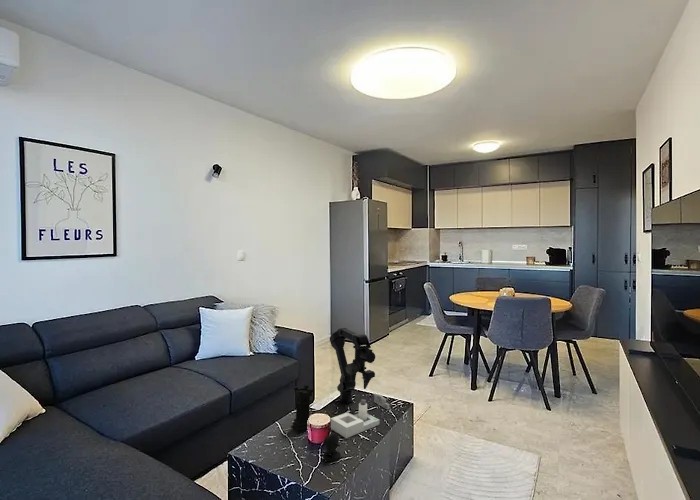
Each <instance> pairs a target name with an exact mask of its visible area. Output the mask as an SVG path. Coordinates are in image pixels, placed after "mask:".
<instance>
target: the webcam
mask: <svg viewBox="0 0 700 500" xmlns="http://www.w3.org/2000/svg"><path fill="white" fill-rule="evenodd" d="M339 440H340V438H339V434H338V433H337V432H332V433H330V434H329V435H326V436H325V438H324V440H323V446H325V451H324V452H323V455H322V456H323V459H324V461H327V462H334V463H335V462H337V461H339V460H340V459H341V457H342V456H341V452H340V451H338V450H337V448H338V447H340V446H341V444H339V443H340V441H339ZM331 456H332V457H331Z"/></svg>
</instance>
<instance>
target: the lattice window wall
mask: <svg viewBox="0 0 700 500" xmlns="http://www.w3.org/2000/svg"><path fill="white" fill-rule="evenodd" d="M373 396H374V398H373V399H374V401H373V402H374V403H375V404H377V405H378V406H380V407H382V408H383V409H386V410H389V409H390V405H391V403H388V402H387V398H385V397H384V396H383V394H380V393H379V394H378V393H376V392H374V394H373Z"/></svg>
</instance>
